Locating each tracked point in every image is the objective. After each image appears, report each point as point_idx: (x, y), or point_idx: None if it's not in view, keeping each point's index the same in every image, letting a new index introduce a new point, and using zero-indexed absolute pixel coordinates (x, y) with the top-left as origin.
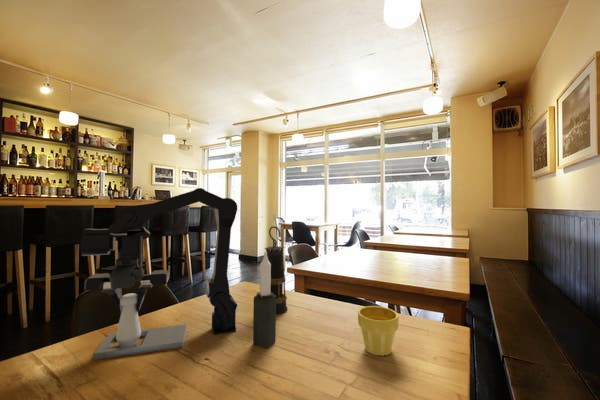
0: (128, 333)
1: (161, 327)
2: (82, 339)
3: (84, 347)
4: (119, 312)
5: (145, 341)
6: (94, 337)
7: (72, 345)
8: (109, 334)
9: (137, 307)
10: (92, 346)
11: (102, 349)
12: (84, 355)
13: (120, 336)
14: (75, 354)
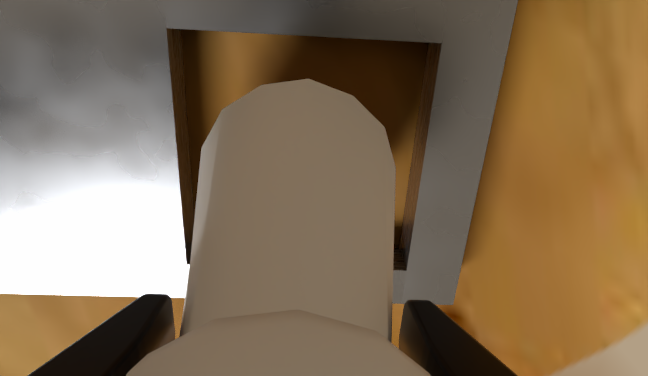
0: (278, 103)
1: (100, 292)
2: (589, 314)
3: (571, 207)
4: (417, 302)
5: (151, 80)
6: (527, 320)
7: (638, 255)
8: (448, 285)
9: (136, 326)
10: (526, 206)
11: (464, 47)
12: (563, 89)
13: (349, 104)
14: (616, 125)
